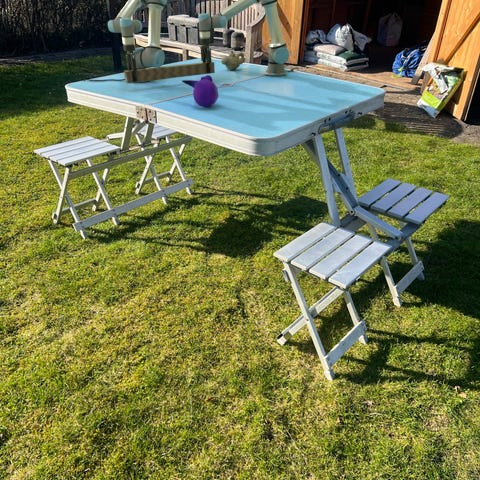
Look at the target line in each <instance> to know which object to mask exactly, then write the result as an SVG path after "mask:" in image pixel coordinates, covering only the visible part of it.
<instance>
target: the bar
mask: <svg viewBox="0 0 480 480" xmlns="http://www.w3.org/2000/svg"><path fill="white" fill-rule="evenodd" d="M206 63H207V62H202V61H201V62H193V63H185V64H174V65H166V66H161V67H146V68H145V69H137V71H136V76H137V82H143V81H148V82H150V81H160V80H167V79H176V78H177V79H178V78H184V77H193V76H200V75H210V74H215V71H216V70H215V62H214V61H212V60H211V63H210V73H207V69H206ZM131 71H132V70H129V69H128V70H123V73H124V79H125V80H124V81H125V82H124V83H126V84H136V83H135V82H133V78H132V72H131ZM143 83H144V82H143Z"/></svg>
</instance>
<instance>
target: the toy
mask: <svg viewBox="0 0 480 480" xmlns="http://www.w3.org/2000/svg"><path fill="white" fill-rule="evenodd" d="M181 82H182V83H184V84H186V85H187V86H189V87H191V88H192V89H193V91H192V95H193V100H194V102H195V104H196V105H198V106H199V107H202V108H210V107H212V106H213V105H215V104H216V102H217V101H218V99H219V90H218V87H217V85H216V84H215V82H214V81H213V78H212V76H211V75H210V74H206V75H204V76H201V77H200V79H199V80H193V79H191V80H190V79H188V80H187V79H186V80H185V79H184V80H183V79H182V80H181Z"/></svg>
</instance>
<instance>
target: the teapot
mask: <svg viewBox="0 0 480 480" xmlns="http://www.w3.org/2000/svg"><path fill="white" fill-rule="evenodd" d="M239 58H240V59H239ZM244 63H245V54H244V52H242V51H240V52H239V53H237V54H236V53H235V52H234V50H230V53H229V54H228V56H224V57H222V59H221V64H222V65H224V66H225V68H226V69H227V70H228V71H235V70H237V69H239V67H240V66H241V65H243V64H244Z"/></svg>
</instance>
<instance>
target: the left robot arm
mask: <svg viewBox="0 0 480 480" xmlns="http://www.w3.org/2000/svg"><path fill="white" fill-rule="evenodd" d="M167 3H168V0H127V2H126V3H125V5H124V6H123V7H122V9H121V10H120V11H119V12H118V14H117V16H116V17H115V18H114V19H110V20H109V21H108V22H107V28H108V31H109V32H111V33H119V34H121V40H122V44H123V45H122V46H123V47H122V48H123V51H124V52H126V53H125V58H126V66H127V69H128V70H132V71H131V72H132V78H133V82H135V83H134V84H141V83H148V82H149V81H143V82H137V76H136V71H137V69H145V68H155V67H163V65H164V63H165V59H166V56H165V52H164V50H163V48H162V46H161V30H162V29H161V28H162V26H161V25H162V11H163V9H164V7H165V5H167ZM144 5H146V7H147V8H148V27H147V30H148V32H147V44H146V45H145V48H144V47H142V46H141V47H136V45H135V35H134V34H135V33H140V32H141V31H142V30H143V23H142V22H141V20H139V19H132V17H133V16H134V14H135V13H136V11H137V10H138V9H139V8H141V7H142V6H144ZM86 81H89V82H110V81H114V82H122V81H125V78H122V79H121V78H120V79H115V78H108V79H90V78H85V79H83V82H86Z"/></svg>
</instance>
